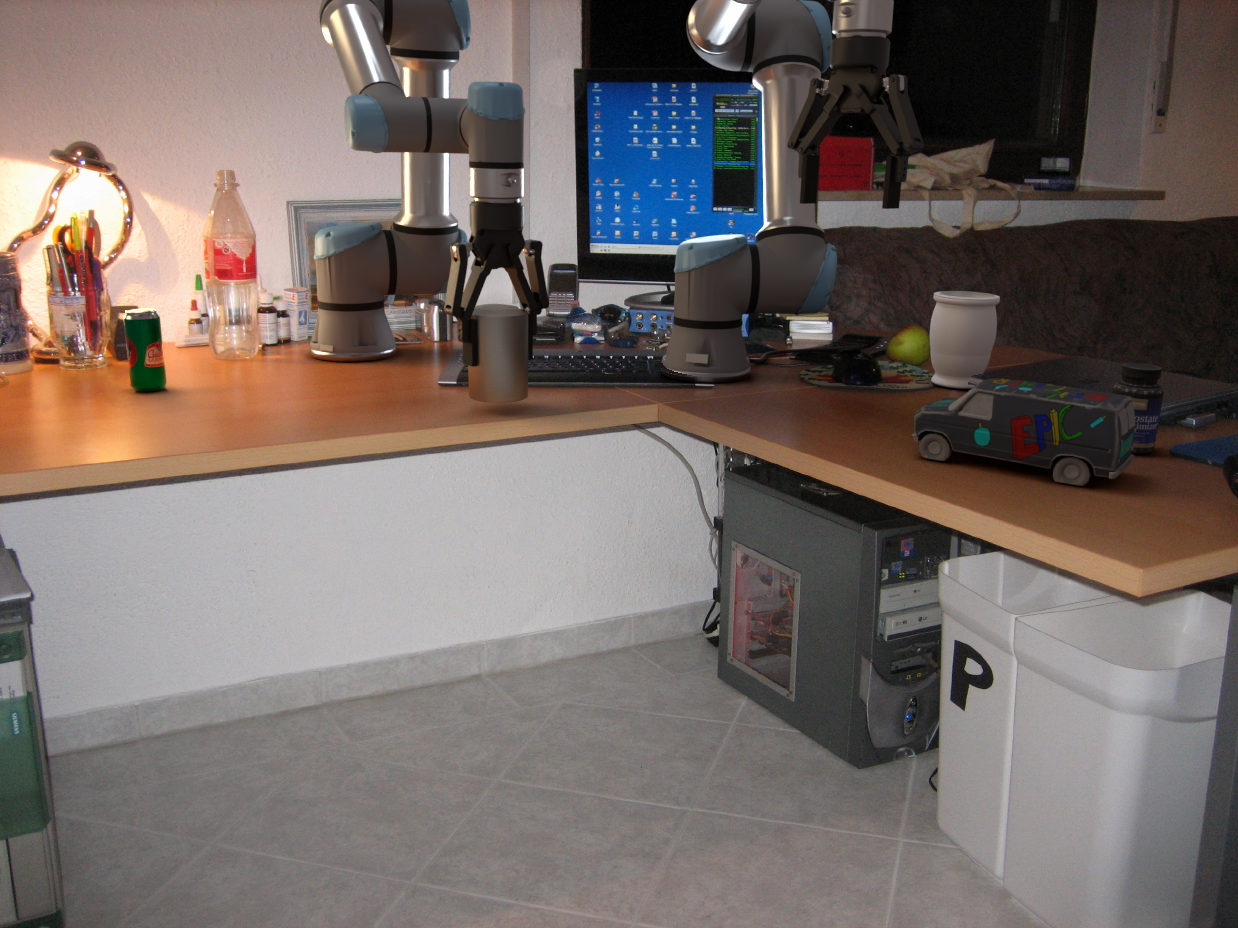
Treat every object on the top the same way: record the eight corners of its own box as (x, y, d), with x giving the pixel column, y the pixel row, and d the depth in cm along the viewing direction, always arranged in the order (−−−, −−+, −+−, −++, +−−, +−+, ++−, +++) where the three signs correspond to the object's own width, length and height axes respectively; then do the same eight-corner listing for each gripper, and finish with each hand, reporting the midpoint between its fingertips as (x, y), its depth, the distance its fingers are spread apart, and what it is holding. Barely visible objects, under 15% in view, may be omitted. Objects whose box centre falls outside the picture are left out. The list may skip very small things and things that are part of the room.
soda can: (154, 393, 161) (145, 313, 158) (124, 391, 162) (115, 312, 158) (173, 386, 166) (166, 309, 162) (144, 384, 167) (136, 307, 163)
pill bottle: (1117, 454, 138) (1130, 370, 135) (1094, 442, 144) (1106, 361, 140) (1163, 454, 138) (1177, 370, 135) (1139, 442, 144) (1152, 361, 141)
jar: (911, 380, 181) (920, 291, 177) (960, 376, 185) (969, 289, 181) (953, 393, 172) (963, 299, 168) (1003, 388, 176) (1014, 297, 172)
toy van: (935, 438, 144) (942, 365, 141) (1133, 472, 130) (1146, 392, 127) (905, 455, 135) (913, 378, 133) (1114, 493, 122) (1127, 408, 119)
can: (456, 397, 154) (454, 312, 150) (492, 386, 161) (492, 305, 158) (504, 405, 150) (504, 318, 146) (539, 394, 157) (539, 311, 153)
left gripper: (440, 203, 138) (444, 374, 145) (575, 201, 151) (573, 358, 157) (414, 199, 144) (419, 364, 151) (546, 197, 157) (545, 349, 163)
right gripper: (768, 40, 144) (759, 202, 150) (928, 28, 127) (911, 211, 133) (803, 45, 149) (793, 201, 155) (962, 33, 131) (944, 210, 137)
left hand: (498, 361), depth 154 cm, fingers closed on can, 9 cm apart
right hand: (847, 206), depth 144 cm, fingers open, 13 cm apart
